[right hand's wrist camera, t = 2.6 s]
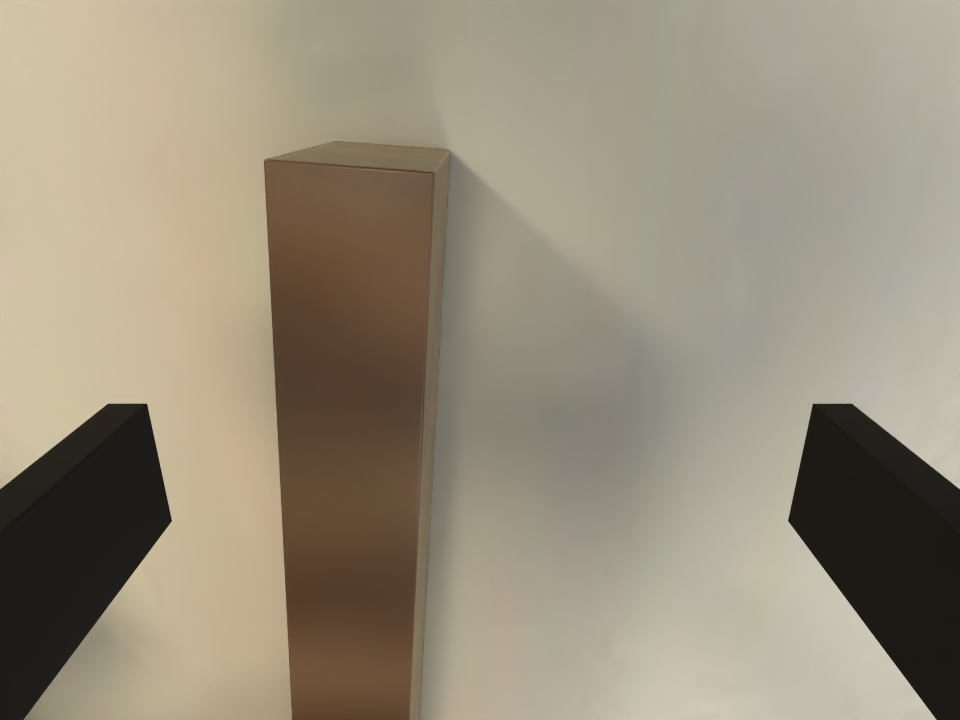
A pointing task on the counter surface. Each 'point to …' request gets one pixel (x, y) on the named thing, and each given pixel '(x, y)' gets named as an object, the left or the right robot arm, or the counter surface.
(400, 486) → the post
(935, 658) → the right robot arm
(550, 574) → the counter surface
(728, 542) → the counter surface
